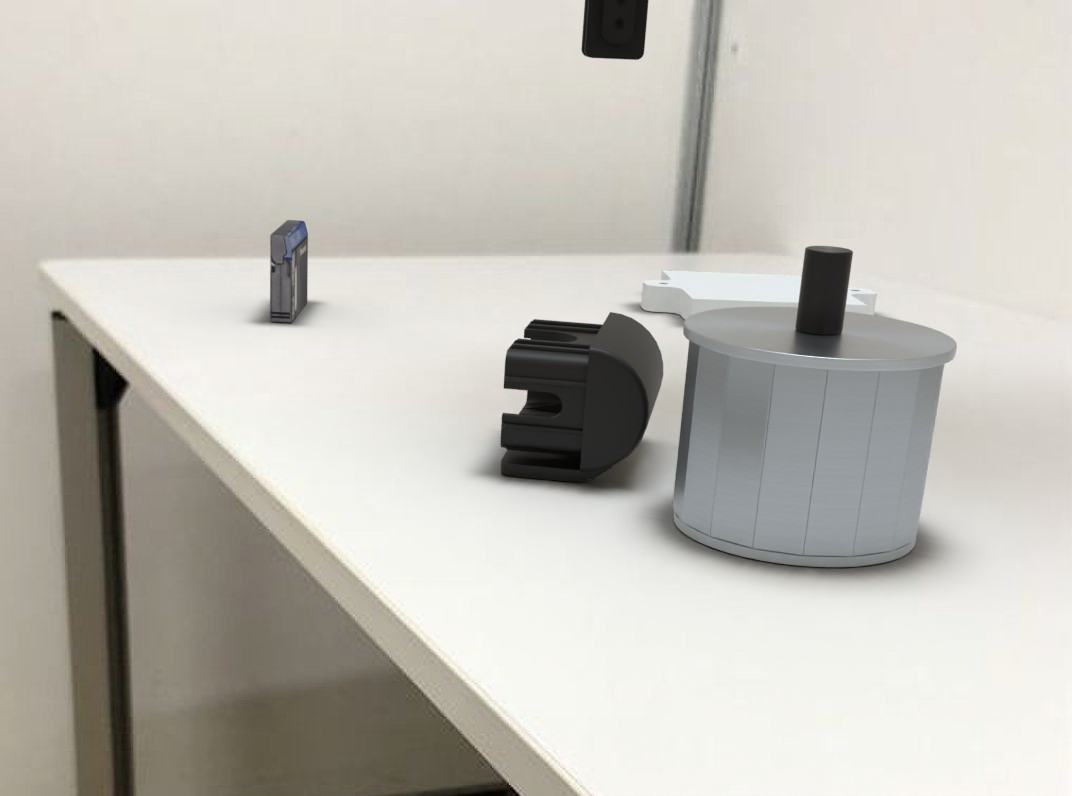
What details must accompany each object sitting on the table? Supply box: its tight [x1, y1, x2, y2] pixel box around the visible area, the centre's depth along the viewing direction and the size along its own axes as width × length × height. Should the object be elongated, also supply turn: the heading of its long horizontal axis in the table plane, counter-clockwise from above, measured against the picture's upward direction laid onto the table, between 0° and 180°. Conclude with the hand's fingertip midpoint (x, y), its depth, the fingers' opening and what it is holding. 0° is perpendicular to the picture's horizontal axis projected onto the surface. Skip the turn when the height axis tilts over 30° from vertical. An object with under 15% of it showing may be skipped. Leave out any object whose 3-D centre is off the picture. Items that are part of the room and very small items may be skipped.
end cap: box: [500, 311, 664, 483], centre depth 82 cm, size 10×7×7 cm
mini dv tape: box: [269, 219, 309, 324], centre depth 116 cm, size 8×2×6 cm, turn 176°
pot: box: [672, 340, 945, 568], centre depth 72 cm, size 11×11×8 cm
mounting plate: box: [640, 270, 878, 321], centre depth 125 cm, size 18×13×2 cm
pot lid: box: [682, 245, 958, 372], centre depth 70 cm, size 12×12×5 cm
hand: (612, 57), depth 88 cm, fingers closed
